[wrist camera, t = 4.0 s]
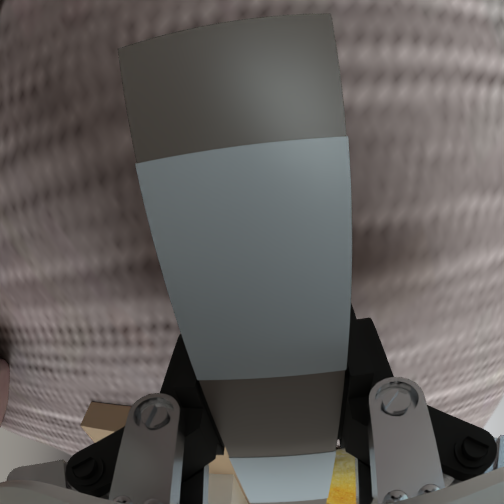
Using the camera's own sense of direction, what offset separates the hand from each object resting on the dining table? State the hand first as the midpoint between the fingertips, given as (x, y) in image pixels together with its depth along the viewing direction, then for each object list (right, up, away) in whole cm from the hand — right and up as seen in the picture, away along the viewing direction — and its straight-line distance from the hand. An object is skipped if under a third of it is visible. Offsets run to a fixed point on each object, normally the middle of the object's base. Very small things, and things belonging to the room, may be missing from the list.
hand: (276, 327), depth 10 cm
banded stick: (0, +1, +2) cm, 2 cm away
